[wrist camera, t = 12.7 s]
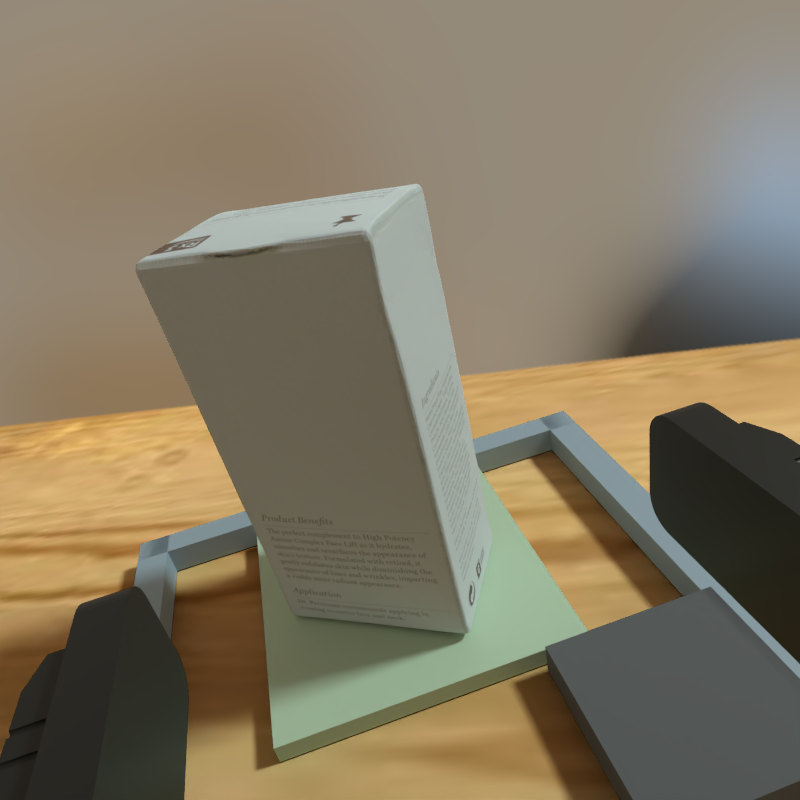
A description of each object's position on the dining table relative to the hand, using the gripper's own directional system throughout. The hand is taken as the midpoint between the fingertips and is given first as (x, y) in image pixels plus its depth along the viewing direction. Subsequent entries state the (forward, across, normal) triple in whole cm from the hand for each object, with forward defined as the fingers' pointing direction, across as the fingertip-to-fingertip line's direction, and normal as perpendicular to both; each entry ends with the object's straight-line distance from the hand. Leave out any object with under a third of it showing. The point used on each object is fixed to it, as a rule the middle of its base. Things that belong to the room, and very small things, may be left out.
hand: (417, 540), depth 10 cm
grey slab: (+1, -6, +9) cm, 11 cm away
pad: (+8, 0, +9) cm, 12 cm away
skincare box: (+8, 0, +9) cm, 12 cm away
